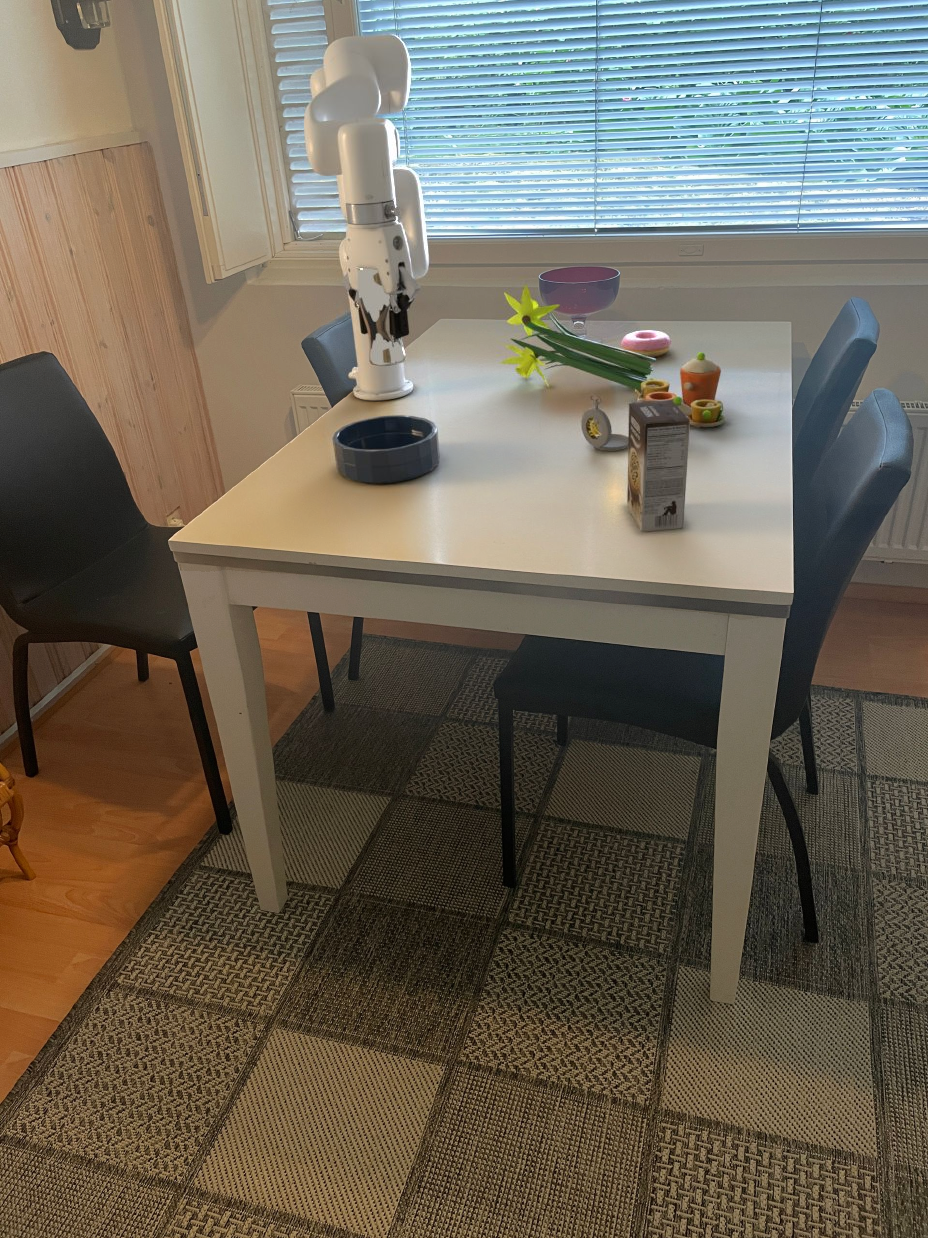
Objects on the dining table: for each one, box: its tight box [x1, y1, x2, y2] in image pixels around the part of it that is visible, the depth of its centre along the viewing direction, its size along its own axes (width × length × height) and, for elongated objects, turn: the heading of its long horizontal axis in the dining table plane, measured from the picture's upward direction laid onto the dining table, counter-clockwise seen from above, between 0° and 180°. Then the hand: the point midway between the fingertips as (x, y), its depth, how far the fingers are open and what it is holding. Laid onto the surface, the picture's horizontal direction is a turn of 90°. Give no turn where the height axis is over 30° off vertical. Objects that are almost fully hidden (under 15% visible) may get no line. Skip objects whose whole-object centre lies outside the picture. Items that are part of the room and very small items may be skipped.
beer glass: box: [356, 267, 407, 366], centre depth 150 cm, size 7×7×15 cm
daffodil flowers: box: [500, 284, 657, 392], centre depth 192 cm, size 17×15×35 cm
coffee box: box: [626, 400, 691, 533], centre depth 133 cm, size 9×6×16 cm
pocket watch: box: [580, 394, 628, 452], centre depth 160 cm, size 8×8×10 cm
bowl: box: [331, 414, 441, 485], centre depth 160 cm, size 18×18×6 cm
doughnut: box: [620, 329, 672, 358], centre depth 210 cm, size 11×11×4 cm
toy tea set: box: [634, 352, 726, 428], centre depth 171 cm, size 26×16×10 cm, turn 176°
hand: (385, 333), depth 151 cm, fingers closed on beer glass, 6 cm apart
